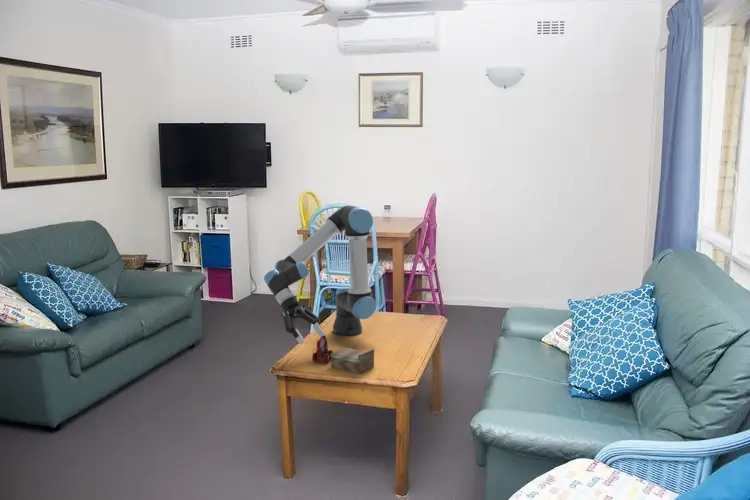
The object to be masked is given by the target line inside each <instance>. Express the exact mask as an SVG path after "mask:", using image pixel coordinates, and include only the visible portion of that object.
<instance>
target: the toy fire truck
mask: <svg viewBox="0 0 750 500" xmlns="http://www.w3.org/2000/svg"><path fill="white" fill-rule="evenodd" d="M316 348H317V349H316V352H313V353H312V356H311V358H312V359H311V360H312V362H313V363H317V362H318V361H323V362H324V363H325V364H329V363H330V360H331V353H333V352H334V351H333V350H332V349H329V344H328V340H327V337H326V336H325V335H323V336H322V337H321V338H320V337H319V339H317V341H316Z"/></svg>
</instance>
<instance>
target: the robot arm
mask: <svg viewBox="0 0 750 500" xmlns="http://www.w3.org/2000/svg"><path fill="white" fill-rule="evenodd" d="M373 223H374V218H373V215H372V214H371V212H370V211H369V210H368V209H367V208H364V207H362V206H356V205H355V206H354V205H345V206H342V207H340V208H339V209H337V210H336V211H335V212H334V213H332V214H331V215H330V216H329V217H328V218H326V220H325V223H324V224H323V225H322V226H320V228H318V229H317V230H316V231H314V233H313V234H311V236H309V237H308V238H307V239H306V240H304V241H303V242H302V244H300V245H299V246H298V247H297V248H295V249H294V250H293V251H292V252H291V253H289V255H287V257H285V258H284V259H279V260H277V261H276V263H275V265H274V269H271V270H269V271H268V272H266V273H265V274H264V277H263V280H264V282H265V284H266V286H267V287H268V288H269V290H270V292H271V293H272V295H273V297H274V298H275V299H276V301H277V303H278V304H279V305H280V307H281V309H282V310H283V312H282V313H281V316H282V318H283V322H284V328H285V331H286V333H289V334H292V336H293V337H294V338H295V339H296V340H297V342H298V343H299V345H300V346H301V345H303V343H304V342H306V340H305V338H304V337H303V336H302V334H301V332H300V331H299V330H298V328H296V320H297V319H303V320H305V321H306V322H307V323H310V324H311V325H312V328H314V331H316V333H317V335H318V336H319V339H320V338H321V337H322V336H325V334H326V333H325V331H324V330H323V329H322V327H321V325H320V322H319V321H320V320H321V319H320V317H318V316H317V315H315V313H314V312H312V311H311V310H310V309H308V307H307V306H306V305H304V304H303V305H302V306H300V304H299V303H300V302H299V300H298V299H297V297H296V296H295V295H294V292H292V290H291V288H290V286H291V285H293V284H295V283H297V282H299V281H300V280H303V279H304V278H306V277H307V276H309V273H310V271H309V268H308V267H307V265H306V263H305V262H307V261H308V260H309V259H310V258H311V257H312V256H313V255H314V254H315V253H317V252H318V251H319V250H320V249H321V248H323V247H324V246H325V245H326V244H327V243H328V242H329V241H330V240H331V239H333V238H334V237H335V236H336V235H340V234H341V233H343V232H344V236H345V237H346V238H347V239H348V258H349V261H348V262H349V278H350V286H341V287H338V288H337V289H336V294H335V298H336V299H335V307H336V309H335V310H336V311H335V319H334V323H333V325H332V333H334V334H336V335H338V336H339V335H341V336H354V335H355V336H356V335H359V334H361V333H363V325H362V321H361V320H368V319H369V318H371V317H372V315H374V313H375V312H376V309H377V301H376V300H375V299H374V298H373V295H372V293H373V292H372V289H371V288H370V287H369V274H368V273H369V272H368V268H369V267H368V248H367V247H368V245H367V242H368V241H367V239H368V237H369V236H370V230H371V229H372V227H373Z"/></svg>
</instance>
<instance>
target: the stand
mask: <svg viewBox="0 0 750 500" xmlns="http://www.w3.org/2000/svg"><path fill="white" fill-rule="evenodd" d="M330 361H331V363H330V366H331V368H335V369H338V370H342V371H346V372H350V373H354V374H359V375H362V374H363V373H365V372H368V371H369V370H372V369H373V368H375V349H374V348H371V349H368V350H366V351H363V350H358V349H355V348H349V347H343V348H341V349H339V350H336V351H333V353H331V359H330Z"/></svg>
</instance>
